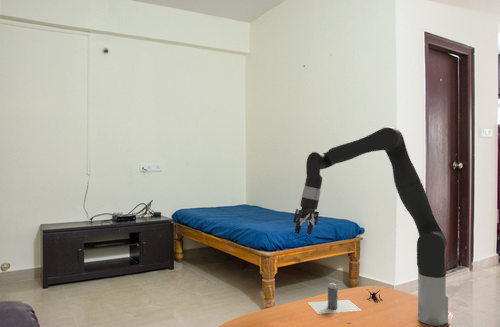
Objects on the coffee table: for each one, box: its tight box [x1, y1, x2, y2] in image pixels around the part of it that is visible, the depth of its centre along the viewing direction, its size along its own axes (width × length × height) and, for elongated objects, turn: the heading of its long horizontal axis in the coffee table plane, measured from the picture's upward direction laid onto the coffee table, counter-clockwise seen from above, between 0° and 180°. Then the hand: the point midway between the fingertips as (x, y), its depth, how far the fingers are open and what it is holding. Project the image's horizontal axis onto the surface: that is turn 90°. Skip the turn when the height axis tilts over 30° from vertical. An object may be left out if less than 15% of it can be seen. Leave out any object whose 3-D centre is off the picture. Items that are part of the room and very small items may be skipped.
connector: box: [327, 282, 339, 310], centre depth 151 cm, size 5×4×9 cm
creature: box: [366, 288, 383, 303], centre depth 160 cm, size 8×5×8 cm
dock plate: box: [307, 299, 363, 315], centre depth 152 cm, size 18×12×1 cm, turn 101°
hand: (303, 233), depth 168 cm, fingers open, 8 cm apart
